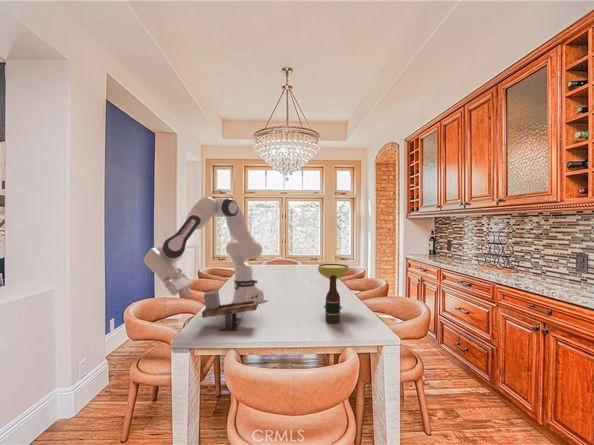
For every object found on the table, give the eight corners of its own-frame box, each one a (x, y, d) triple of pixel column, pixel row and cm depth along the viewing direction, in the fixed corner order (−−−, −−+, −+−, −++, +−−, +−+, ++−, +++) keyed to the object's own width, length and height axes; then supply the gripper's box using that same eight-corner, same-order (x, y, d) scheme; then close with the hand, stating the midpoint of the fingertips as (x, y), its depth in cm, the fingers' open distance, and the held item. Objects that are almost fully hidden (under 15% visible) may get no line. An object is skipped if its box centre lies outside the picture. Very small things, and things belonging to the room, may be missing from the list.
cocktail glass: (349, 311, 192) (350, 268, 192) (318, 311, 193) (318, 267, 192) (345, 303, 210) (346, 264, 210) (317, 303, 211) (317, 263, 210)
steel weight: (206, 312, 163) (203, 294, 163) (209, 310, 168) (206, 292, 168) (218, 311, 163) (216, 293, 163) (220, 308, 168) (218, 290, 168)
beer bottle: (327, 324, 169) (328, 276, 169) (323, 319, 176) (323, 274, 176) (342, 323, 170) (342, 276, 170) (337, 318, 178) (337, 274, 178)
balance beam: (202, 319, 160) (201, 312, 160) (208, 313, 171) (207, 306, 171) (256, 311, 161) (255, 304, 161) (258, 305, 171) (257, 299, 171)
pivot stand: (219, 330, 157) (219, 314, 157) (226, 319, 174) (226, 304, 174) (236, 330, 158) (236, 314, 157) (241, 320, 174) (241, 304, 174)
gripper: (166, 274, 155) (187, 296, 155) (181, 268, 175) (200, 286, 176) (157, 284, 155) (178, 305, 155) (173, 276, 175) (191, 295, 176)
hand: (190, 295), depth 166 cm, fingers closed
